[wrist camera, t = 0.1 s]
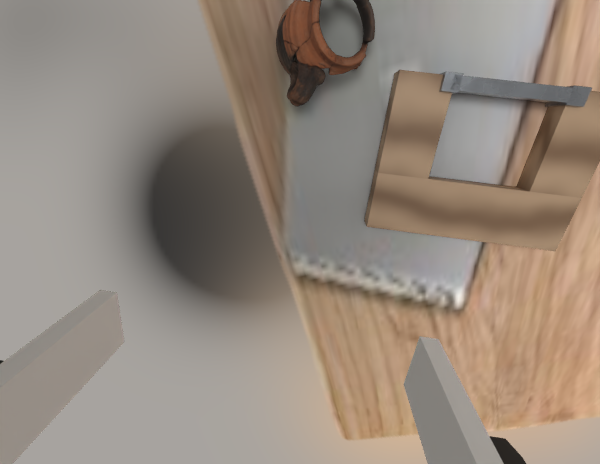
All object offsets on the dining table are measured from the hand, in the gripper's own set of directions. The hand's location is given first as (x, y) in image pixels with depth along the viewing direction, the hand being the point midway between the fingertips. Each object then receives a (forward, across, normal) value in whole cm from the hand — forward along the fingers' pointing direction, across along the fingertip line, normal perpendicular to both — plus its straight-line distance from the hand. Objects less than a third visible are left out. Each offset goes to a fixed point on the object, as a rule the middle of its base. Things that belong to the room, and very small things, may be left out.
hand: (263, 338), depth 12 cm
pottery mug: (+28, 0, +16) cm, 33 cm away
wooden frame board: (+28, +21, +6) cm, 35 cm away
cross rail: (+28, +21, +14) cm, 38 cm away
